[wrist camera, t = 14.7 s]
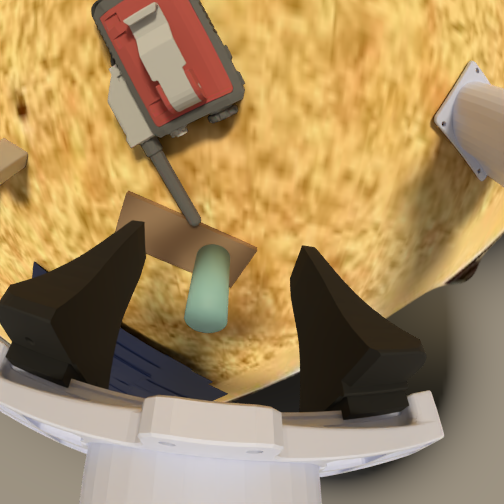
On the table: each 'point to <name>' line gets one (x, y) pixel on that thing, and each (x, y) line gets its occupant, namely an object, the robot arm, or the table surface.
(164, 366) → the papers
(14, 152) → the lighter
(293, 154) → the table surface
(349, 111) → the table surface
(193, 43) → the walkie-talkie
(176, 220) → the batten
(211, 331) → the dowel
